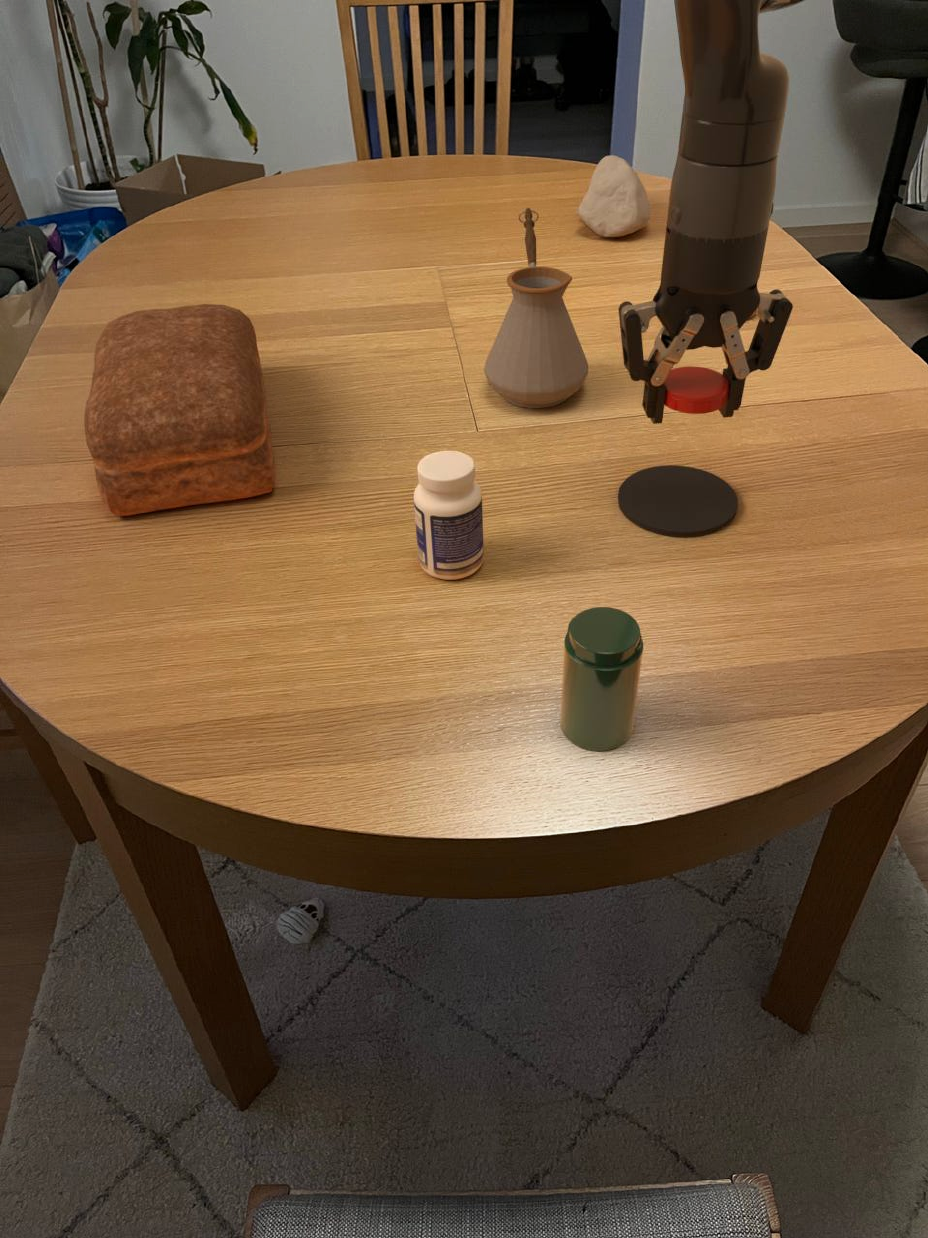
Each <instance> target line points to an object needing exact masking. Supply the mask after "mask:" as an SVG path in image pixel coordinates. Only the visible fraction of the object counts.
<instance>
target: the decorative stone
mask: <svg viewBox="0 0 928 1238" xmlns="http://www.w3.org/2000/svg"><path fill="white" fill-rule="evenodd" d="M651 209H652V208H651V203H650V199H649V196H648V193H647V191H646V188H645V186H644V183H642V181H641V179H640V177H639V174H638V173H637V171H635V170H634V168H633V167H632V166H631V165H630V164H629V163H628V161H627V160H626V159H624V158H623V157H619V156H617V155H615V154H611V155H605V156H604V157H603V158H601V160H600V161H599V162H598V164H597V165H596V167H595V168H594V171H593V173H592V176H591V178H590V181H589V187H588V190H587V191H586V193H585V196H584V197H583V199H582V201H581V203H580V204H579V205H578V208H577V210H576V212H577V216H578V217H579V219H580V220H582V222H583V223H584V224H585V225H586V226H587V227H588V228H589V229H590V230H591V231H593V232H594V233H595V234H597V235H599V236H600V237H604V238H605V237H606V238H617V237H618V238H619V237H625V236H626V235H631V234H633V233H636V232H637V231H639V230H640V229H643V228H644V227H645V226H646V225H647V224H648V223H649V221H650V219H651Z"/></svg>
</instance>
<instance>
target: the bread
mask: <svg viewBox="0 0 928 1238" xmlns="http://www.w3.org/2000/svg"><path fill="white" fill-rule="evenodd" d="M259 353H260V352H259V349H258V342H257V334H256V330H255V326H254V325H253V322H252V321H251V319H250V317H248V316H247V315H246V314H245V313H244V312H243V311H242V310H240V309H239V308H235V307H231V306H228V305H225V304H214V303H213V304H212V303H201V304H190V305H182V306H177V307H171V308H153V309H144V310H135V311H133V312H130V313H127V314H124V315H120V316H118V317H117V318H115V319H113V320H111V321H109V322H108V323H107V324H106V325H105V327H104V328H103V331H102V333H101V334H100V337H99V338H98V341H97V342H96V345H95V349H94V354H93V355H94V356H93V357H94V358H93V366H94V367H93V372H92V377H91V379H92V380H91V386H90V389H89V390H90V391H89V395H88V397H87V399H86V402H85V408H84V409H85V410H84V425H83V426H84V436H85V442H86V446H87V448H88V450H89V453H90V455H91V457H92V459H93V462H94V463H93V464H94V472H95V480H96V484H97V489H98V492H99V495H100V498H101V501H102V504H103V506H105V508H106V509H108V510H109V511H110V512H111V513H112V514H113V515H114V516H115V517H116V518H118V517H125V516H133V515H139V514H145V513H151V512H157V511H163V510H169V509H174V508H182V507H186V506H188V507H189V506H195V505H202V504H203V505H204V504H211V503H221V502H227V501H236V500H242V499H247V498H248V499H249V498H252V497H257V496H261V495H264V494H268V493H271V492H272V491H273V488H274V483H275V467H274V465H275V464H274V448H273V443H272V431H271V430H272V429H271V427H270V424H269V420H268V413H267V412H268V411H267V405H266V404H267V402H266V395H265V385H264V378H263V377H264V375H263V369H262V364H261V357H260V354H259Z"/></svg>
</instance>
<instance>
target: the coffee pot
mask: <svg viewBox="0 0 928 1238" xmlns="http://www.w3.org/2000/svg"><path fill="white" fill-rule="evenodd" d="M533 213H534V214H536V219H534V220H533ZM523 214H524V220H525V221H523V220H522V219H521V215H523ZM539 217H540V216H539V213H538V212H537V211H535V210H532V209H531V208H530V207H527V208H525V210H523V211H522V212H520V213H519V215H518V220H519V222H521V224H523V227H524V228H525V235H524V244H525V250H526V257H527V264H528V265H527V267H523V268H522V267H521V268H518V269H516V270H514V271H512V272H510V273H509V275H507V278H506V283H507V285H508V288H510V289H511V293H512V299H511V301H510V303H509V306H508V309H507V311H506V313H505V316H504V318H503V320H502V322H501V325H500V327H499V329H498V332H497V334H496V336H495V339H494V341H493V344H492V346H491V348H490V351H489V353H488V355H487V358H486V360H485V363H484V367H483V371H484V375H485V378H486V380H487V382H488V384H489V386H490V387H491V388H492V389H493V390H494V391H495V392H496V393H498V395H499V396H502V397H503V399H505V400H506V401H507V402H508V403H510V404H512V405H515V406H518V407H522V408H527V409H542V408H549V407H550V408H551V407H553V406H557V405H559V404H562V403H563V402H565V401H566V400H567V399H568V398H569V397H570V396H572V395H573V394H574V393H576V392H577V391H579V389H580V388H582V385H583V384H584V382H585V380H586V379H587V377H588V375H589V368H590V367H589V362H588V360H587V357H586V354H585V352H584V349H583V347H582V345H581V342H580V339H579V336H578V334H577V332H576V329H575V327H574V324H573V321H572V318H571V316H570V314H569V311H568V309H567V306H566V304H565V301H564V299H563V297H564V294H565V293H566V290H567V288H568V286H569V285H570V284H571V282H572V280H573V276H572V275H570V274H569V273H567V272H565V271H564V270H561V269H559V268H555V267H551V266H537V237H536V234H535V229H534V228H535V225H536V222H537V221H538V220H539Z"/></svg>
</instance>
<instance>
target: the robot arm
mask: <svg viewBox="0 0 928 1238" xmlns="http://www.w3.org/2000/svg"><path fill="white" fill-rule="evenodd" d="M673 1H674V10H675V20H676V27H677V28H676V29H677V35H678V44H679V54H680V62H681V68H682V75H683V81H684V83H683V84H684V97H683V104H682V114H681V122H680V123H681V124H680V133H679V139H678V140H679V141H678V142H679V143H678V151H677V156H676V161H675V165H674V169H673V174H672V176H671V177H672V179H671V182H670V189H669V190H670V191H669V199H668V207H667V208H668V209H667V218H666V225H665V236H664V245H663V253H662V262H661V270H660V271H661V273H660V283H659V287H658V289H657V291H656V293H655V294H654V295H653V298H652V300H649V301H644V302H641V303H637V304H633V303H632V302H630V301H629V300H628V301H627V300H626V301H623V302H621V303H620V304H619V306H618V319H619V328H620V329H619V330H620V339H621V340H620V341H621V349H622V358H623V365H624V368H625V369H626V370H627V372H628V374H629V378H630V379H631V380H632V381H634V382H640V381H643V382H644V384H643V385H644V386H643V395H642V403H641V406H642V408H643V411H644V413H645V415H646V417H647V419H650V421H651V423H652V424H653V425H656V424H662V423H663V420H664V410H665V405H664V404H665V396H666V388H667V386H666V384H665V380H666V378H667V376H668V375H669V373H670V371H671V370H672V369H674V368H673V367H674V366H675V365H678V364H679V362H680V361H681V359H682V358H683V356H684V354H685V352H686V351H689V350H697V349H700V348H702V347H706V348H713V349H716V348H721V350H722V353H723V356H724V360H725V363H726V365H727V367H726V368H723V369H722V373H721V374H722V375H724V376H725V377H726V379H727V380H728V383H729V387H728V388H729V392H728V398H727V399H726V403H725V404H724V406H723V407H721V408H720V409H718V410H717V411H719V413H720V414H721V416H722V418H724V419H725V418H733V416H734V413H735V411H738V410H739V409H740V407H741V405H742V403H743V402H742V401H743V396H744V390H745V385H746V380H747V377H748V376H749V375H750V374H751V373H753V372H755V371H758V370H759V371H767V370H769V368H771V366H772V364H773V361H774V359H775V356H776V354H777V351H778V348H779V346H780V343H781V340H782V338H783V335H784V333H785V329H786V327H787V324H788V322H789V320H790V317H791V314H792V312H793V308H794V305H793V303H792V301H790V300H789V298H787V296H786V295H785V294H784V293H783V292H782V290H780V289H778V288H775V289H772V290H771V291H770V292H769V293H767V292H766V293H765V292H759V290H758V289H759V288H758V281H759V279H760V276H761V272H762V271H761V270H762V266H763V260H764V253H765V247H766V242H767V238H768V232H769V226H770V220H771V217H772V215H773V212H774V199H775V193H776V184H777V165H778V164H777V163H778V155H779V151H780V145H781V140H782V134H783V128H784V123H785V122H784V121H785V116H786V112H787V111H786V110H787V104H788V97H789V89H790V75H789V74H790V73H789V71H788V67H787V66H786V65H785V64H784V63H783V62H782V61H781V60H780V59H779V58H777V57H775V56H772V55H768V54H765V53H761V49H760V39H759V17H760V14H765V13H770V12H775V11H779V10H783V9H787V8H790V7H793V6H796V5H798V4H800V3H802V2H805V0H673ZM756 309H757V312H756V315H757V317H758V318H759V320H758V322H757V325H756V328H755V331H754V334H753V336H752V339H751V342H750V345H749V348H748V350H746V349H745V346H744V342H743V339H742V336H741V332H740V330H741V328H742V327H743V326H744V325H745V324H746V322H747V321H748V320H749V319H751V318H750V317H751V315H752V314H753V313H754V312H755V311H756ZM654 317H656V318H657V319H658V320H659V322H660V323H661V325H662V327H661V329H660V330H659V332H658V333H657V336H656V338H655V340H654V343H653V344H654V346H653V349H652V350H651V352H650V354H649V356H648V358H647V359H645V357H644V346H643V333H646V332H647V331H648V329H649V326H650V322H651V320H652V319H653V318H654Z"/></svg>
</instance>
